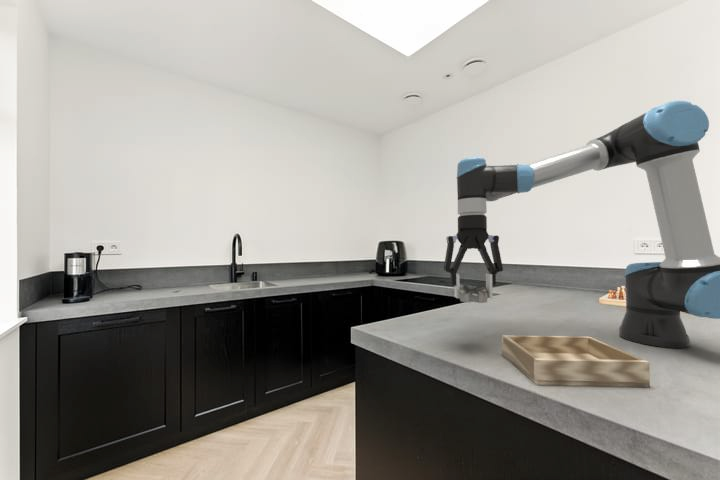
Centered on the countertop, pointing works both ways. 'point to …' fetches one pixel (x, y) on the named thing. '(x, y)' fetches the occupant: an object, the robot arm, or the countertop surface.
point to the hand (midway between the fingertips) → (473, 297)
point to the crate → (574, 361)
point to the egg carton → (473, 294)
